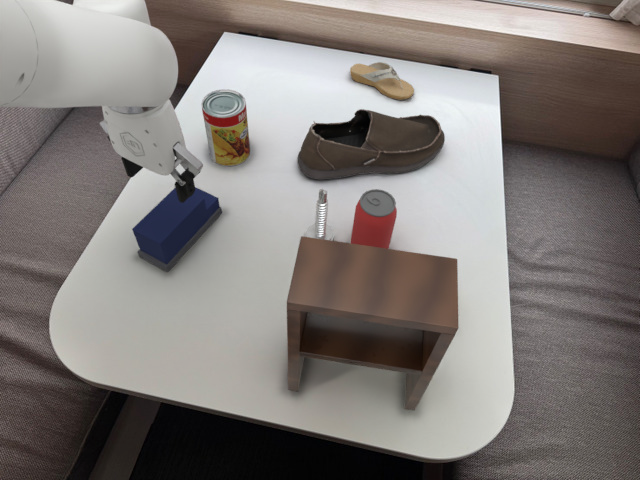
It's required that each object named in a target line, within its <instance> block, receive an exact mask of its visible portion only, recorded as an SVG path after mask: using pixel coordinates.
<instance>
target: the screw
mask: <svg viewBox="0 0 640 480" xmlns="http://www.w3.org/2000/svg"><path fill="white" fill-rule="evenodd" d="M328 212H329V199H328V190H326V189H323V188H320V189H319V190H318V199H317V200H316V206H315V223H312V224H311V225H309V226H308V227H307V229H306V230H305V237H310V238H317V239H324V240H331V241H334V239H335V231H334V229H333V227H332V226H331V225H329V224H328V223H327V222H328Z"/></svg>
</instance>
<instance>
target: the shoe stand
mask: <svg viewBox="0 0 640 480" xmlns="http://www.w3.org/2000/svg"><path fill="white" fill-rule="evenodd" d="M458 270H459V269H458V259H457V258H455V257H447V256H441V255H433V254H427V253H420V252H413V251H407V250H399V249H392V248H389V249H386V248H379V247H372V246H365V245H358V244H351V243H350V242H344V241H337V240H333V241H331V240H324V239H317V238H310V237H306V236H300V239H299V244H298V249H297V253H296V258H295V262H294V267H293V271H292V276H291V280H290V284H289V290H288V294H287V299H286V344H287V345H286V347H287V348H286V349H287V390H288V391H292V392H299V389H300V385H301V379H302V373H303V368H304V361H305V358H307V359H313V360H319V361H326V362H333V363H338V364H339V363H340V364H344V365H351V366H352V365H353V366H358V367H365V368H369V369H370V368H371V369H375V370H376V369H377V370H383V371H389V372H397V373H401V374H405V385H404V387H405V388H404V404H403V405H404V407H403V408H404V409H405V410H410V411H416V410H417V408H418V405H419V404H420V402H421V400H422V398H423V396H424V394H425V392H426V391H427V389H428V387H429V384H430V383H431V381H432V380H433V377H434V376H435V373H436V372H437V370H438V368H439V367H440V364H441V363H442V360H443V359H444V357H445V355H446V353H447V351H448V349H449V347H450V345H451V343H452V341H453V340H454V338H455V336H456V334H457V332H458V330H459V281H458V280H459V278H458V277H459V276H458V274H459V273H458Z"/></svg>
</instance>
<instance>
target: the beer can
mask: <svg viewBox="0 0 640 480" xmlns="http://www.w3.org/2000/svg"><path fill="white" fill-rule="evenodd" d="M397 215H398V209H397V202H396V199H395V198H394V196H393V195H392V194H391V193H390V192H388V191H386V190H383V189H378V188H375V189H374V188H373V189H369V190H367V191H364V193H362V195H361V196H360V198H359V200H358V201H357V203H356V205H355V208H354V216H353V221H352V229H351V236H350V242H349V243H351V244H358V245H365V246H372V247H379V248H386V249H390V244H391V240H392V236H393V232H394V228H395V224H396V220H397V217H398V216H397Z"/></svg>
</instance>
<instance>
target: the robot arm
mask: <svg viewBox="0 0 640 480" xmlns="http://www.w3.org/2000/svg"><path fill="white" fill-rule="evenodd" d="M178 78H179V63H178V57H177V54H176V51H175V48H174V46H173V44H172V42H171V40H170V38H169V37H168V36H167V35H166V33H164V32H163V31H162V30H161V29H159V28H157V27H155V26H153V25H152V24H151V20H150V16H149V11H148V7H147V3H146V1H145V0H73V3H72V4H70V3H67V2H63V1H59V0H0V108H25V109H26V108H28V109H29V108H30V109H31V108H32V109H65V108H66V109H67V108H68V109H69V108H84V107H87V108H88V107H101V108H102V115H103V119H102V120H101V121H100V122H99V126H100V127H101V128H102V130H103V131H104V133H105V134H106V135H107V139H108V141H109V142H110V144H111V146H112V149H113V150H114V152H115V153H116V154H117V155H118V156H119V157H120V159H121V162H122V164H123V167H124V170H125V173H126V175H127V177H129V178H133V177H135V176H136V175H137V174H138V173H140V171H142V170H143V169H146V170H147V171H150V172H151V173H152V172H153V173H155V174H157V175H159V176H164V177H165V176H169V175H171V177H172V178H173V179H174V180H175V182H174V188H175V189H176V192H177V196H178V200H179V202H181V203H184V202H185V201H186V200H187V199H188V198H189V197H191V196H192V195H193V194H194V192H195V187H196V185H195V180H194V179H195V178H196V177H197V176H198V175H199V174H201V172H202V169H203V167H204V163H203V162H202V160H200V159H199V158H197V156H195V155H194V154H193V153H192V152H191V151H189V150H188V149H187V144H186V141H185V136H184V134H183V131H182V127H181V124H180V121H179V119H178V115H177V112H176V110H175V108H174V106H173V103H172V101H171V99H170V98H171V97H172V96H173V94H174V91H175V89H176V87H177V84H178ZM178 166H181V167H182V168H183V169H184V171H183V172H182V173H180V172H179V171H178V170H177V167H178Z"/></svg>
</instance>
